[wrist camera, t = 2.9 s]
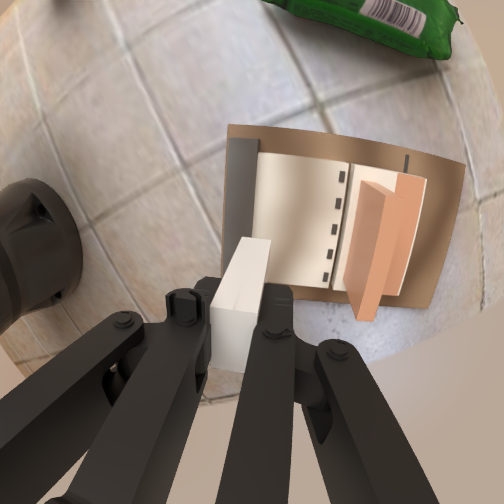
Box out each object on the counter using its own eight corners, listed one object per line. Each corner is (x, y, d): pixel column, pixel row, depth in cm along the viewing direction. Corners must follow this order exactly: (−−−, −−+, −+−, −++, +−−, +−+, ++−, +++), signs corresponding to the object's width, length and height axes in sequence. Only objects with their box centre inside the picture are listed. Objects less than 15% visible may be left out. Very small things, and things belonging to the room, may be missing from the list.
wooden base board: (222, 284, 27) (215, 302, 24) (230, 124, 21) (222, 123, 19) (424, 303, 25) (435, 320, 23) (459, 163, 20) (478, 168, 17)
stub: (331, 282, 24) (343, 332, 18) (351, 163, 20) (378, 175, 14) (394, 288, 24) (421, 335, 18) (420, 176, 20) (465, 194, 14)
